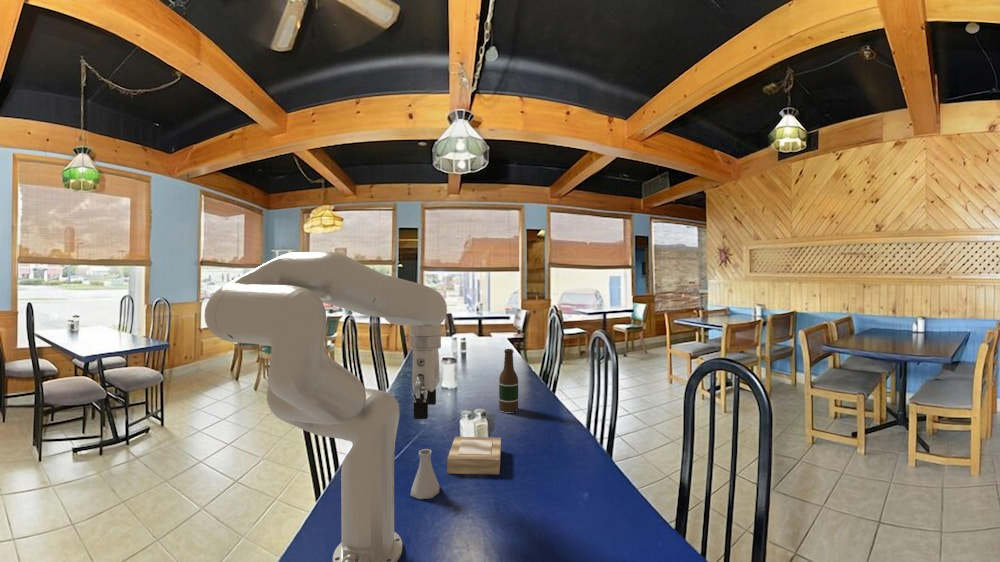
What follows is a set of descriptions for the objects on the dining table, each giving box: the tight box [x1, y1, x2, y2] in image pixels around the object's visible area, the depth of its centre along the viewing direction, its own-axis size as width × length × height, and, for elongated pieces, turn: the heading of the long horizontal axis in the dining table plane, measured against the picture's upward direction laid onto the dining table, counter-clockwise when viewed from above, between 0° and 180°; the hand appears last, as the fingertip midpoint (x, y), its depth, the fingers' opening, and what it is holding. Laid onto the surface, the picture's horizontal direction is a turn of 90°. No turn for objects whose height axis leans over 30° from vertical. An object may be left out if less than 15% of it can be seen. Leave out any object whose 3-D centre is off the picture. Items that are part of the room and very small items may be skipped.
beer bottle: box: [498, 348, 519, 412], centre depth 154 cm, size 8×8×24 cm
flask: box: [409, 448, 440, 500], centre depth 97 cm, size 7×7×10 cm
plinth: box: [446, 436, 502, 475], centre depth 112 cm, size 14×14×4 cm
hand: (425, 411), depth 96 cm, fingers open, 9 cm apart
